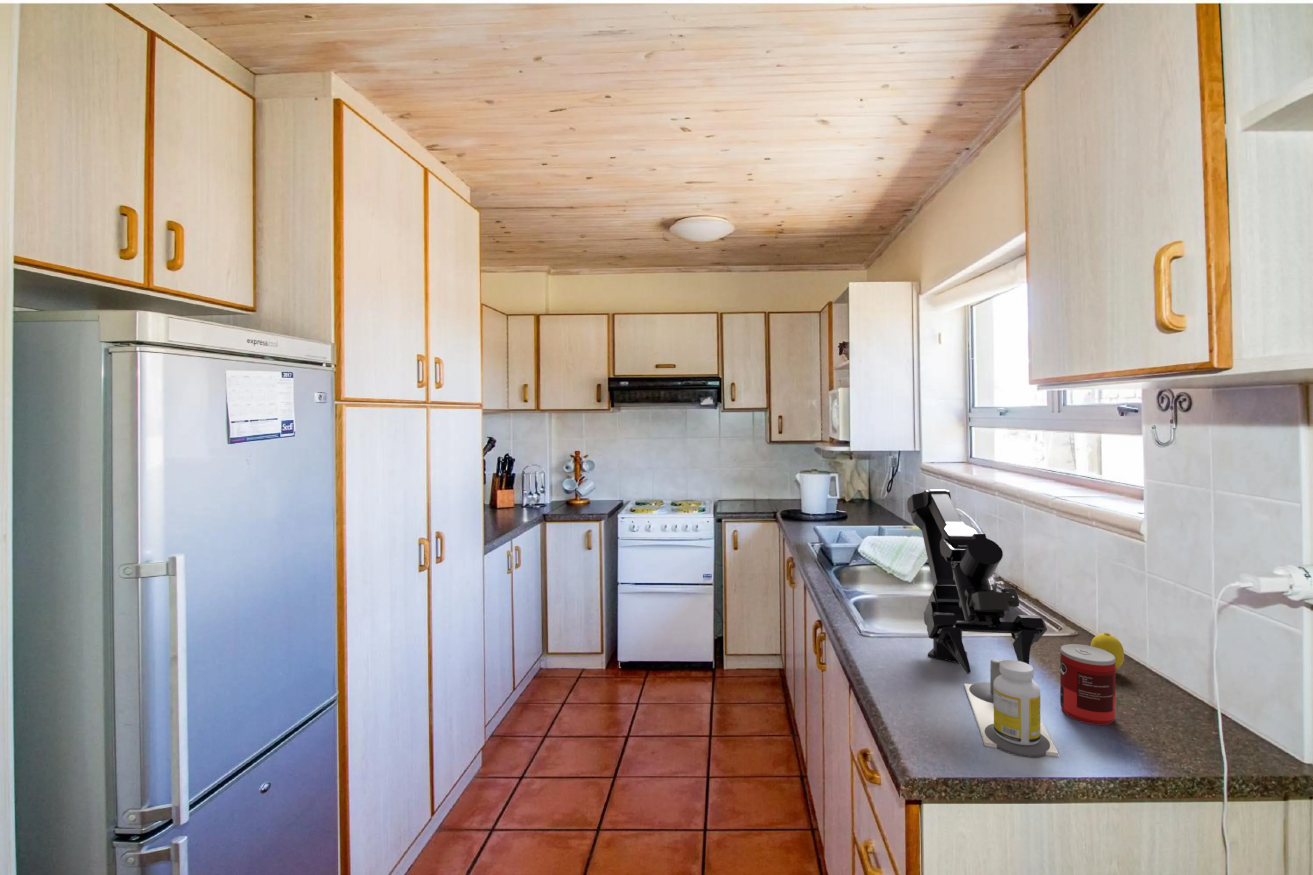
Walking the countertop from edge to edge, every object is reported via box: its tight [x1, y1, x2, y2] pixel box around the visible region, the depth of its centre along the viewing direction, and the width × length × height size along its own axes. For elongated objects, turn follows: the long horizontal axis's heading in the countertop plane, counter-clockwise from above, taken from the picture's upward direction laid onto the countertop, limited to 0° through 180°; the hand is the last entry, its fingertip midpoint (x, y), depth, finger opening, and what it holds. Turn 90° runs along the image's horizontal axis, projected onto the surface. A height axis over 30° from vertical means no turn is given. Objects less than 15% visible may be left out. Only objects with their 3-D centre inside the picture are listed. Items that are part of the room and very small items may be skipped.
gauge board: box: [963, 658, 1059, 758], centre depth 104 cm, size 25×10×7 cm, turn 160°
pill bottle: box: [993, 659, 1041, 745], centre depth 96 cm, size 6×6×12 cm
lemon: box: [1089, 632, 1125, 670], centre depth 121 cm, size 6×6×8 cm
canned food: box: [1059, 643, 1117, 726], centre depth 104 cm, size 8×8×11 cm
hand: (997, 674), depth 104 cm, fingers open, 9 cm apart
